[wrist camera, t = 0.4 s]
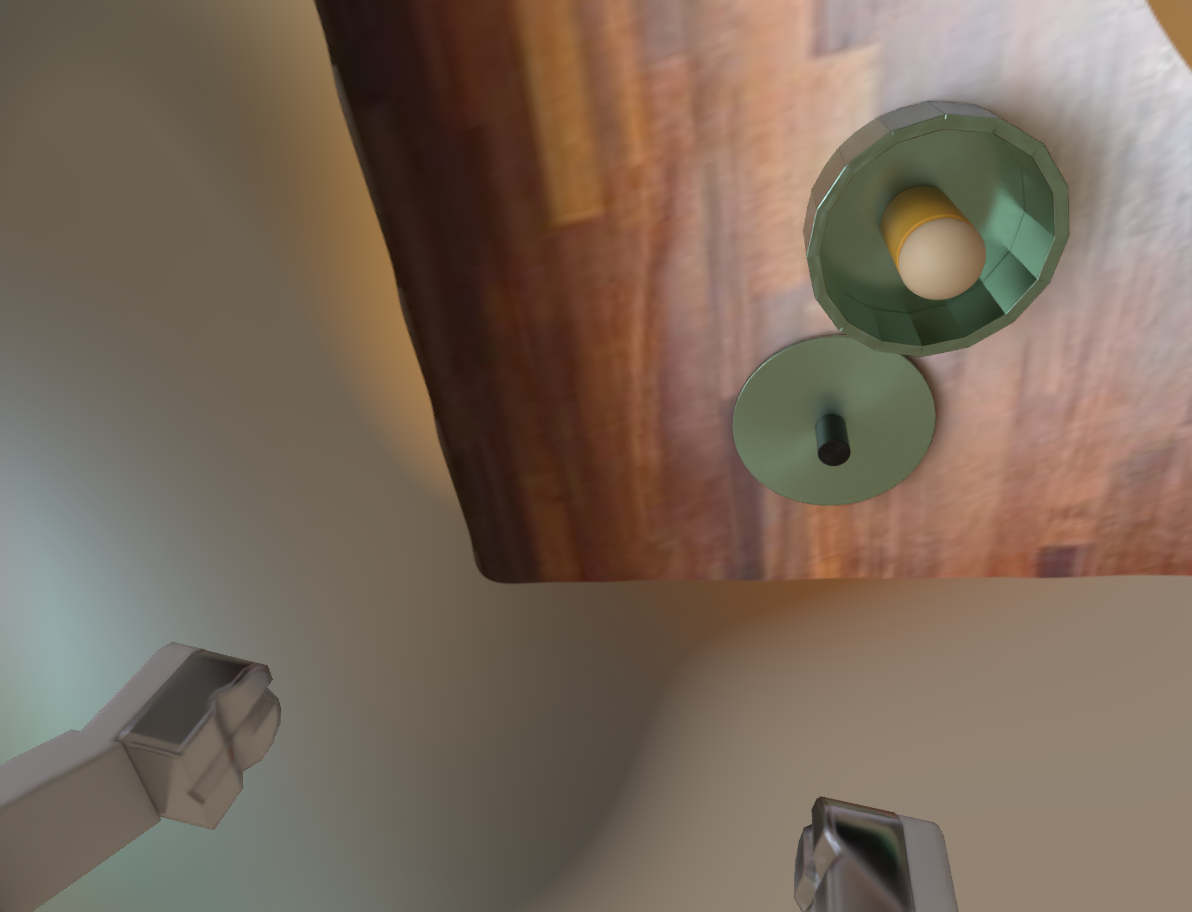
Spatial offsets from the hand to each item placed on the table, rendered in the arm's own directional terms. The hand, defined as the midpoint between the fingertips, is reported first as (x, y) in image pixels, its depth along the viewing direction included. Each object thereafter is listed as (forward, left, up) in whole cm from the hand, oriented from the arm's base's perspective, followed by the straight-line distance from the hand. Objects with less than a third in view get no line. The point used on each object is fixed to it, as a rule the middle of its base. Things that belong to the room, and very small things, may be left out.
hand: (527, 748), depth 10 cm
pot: (+3, +14, -48) cm, 50 cm away
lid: (+20, +12, -47) cm, 52 cm away
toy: (+3, +14, -47) cm, 49 cm away
